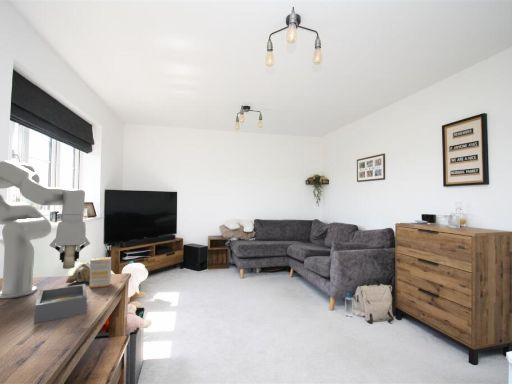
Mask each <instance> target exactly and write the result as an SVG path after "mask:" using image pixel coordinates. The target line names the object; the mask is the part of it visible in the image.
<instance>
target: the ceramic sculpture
mask: <svg viewBox="0 0 512 384" xmlns="http://www.w3.org/2000/svg"><path fill="white" fill-rule="evenodd" d="M74 282H76V283H84V282H85V283H90V262H87V263H82V264H80V266H79V267H77V268H76V270H75V271H74V273H73V274H72V275H70V276H68V277H67V280H66V282H65V283H66V284H73V283H74Z"/></svg>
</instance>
